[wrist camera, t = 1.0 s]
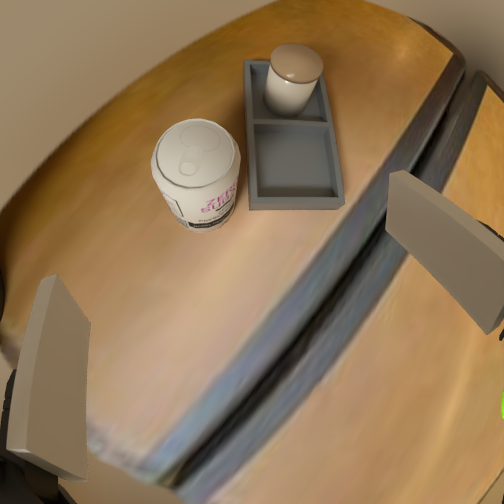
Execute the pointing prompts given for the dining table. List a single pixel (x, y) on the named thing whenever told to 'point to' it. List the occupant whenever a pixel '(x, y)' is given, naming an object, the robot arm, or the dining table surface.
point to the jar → (291, 79)
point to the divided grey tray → (290, 150)
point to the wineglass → (502, 405)
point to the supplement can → (197, 173)
